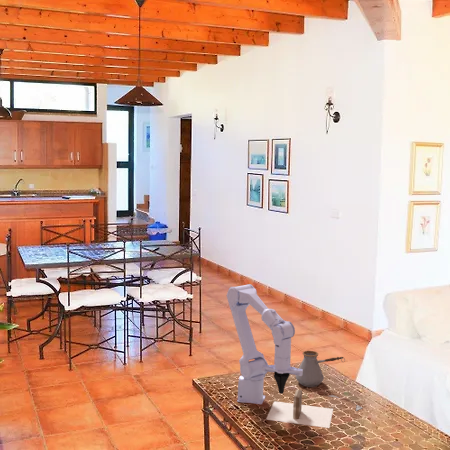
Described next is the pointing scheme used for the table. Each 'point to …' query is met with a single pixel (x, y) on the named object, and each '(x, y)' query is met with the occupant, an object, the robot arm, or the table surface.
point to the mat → (307, 416)
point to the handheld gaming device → (356, 405)
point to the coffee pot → (312, 369)
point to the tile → (297, 404)
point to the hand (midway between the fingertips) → (281, 392)
